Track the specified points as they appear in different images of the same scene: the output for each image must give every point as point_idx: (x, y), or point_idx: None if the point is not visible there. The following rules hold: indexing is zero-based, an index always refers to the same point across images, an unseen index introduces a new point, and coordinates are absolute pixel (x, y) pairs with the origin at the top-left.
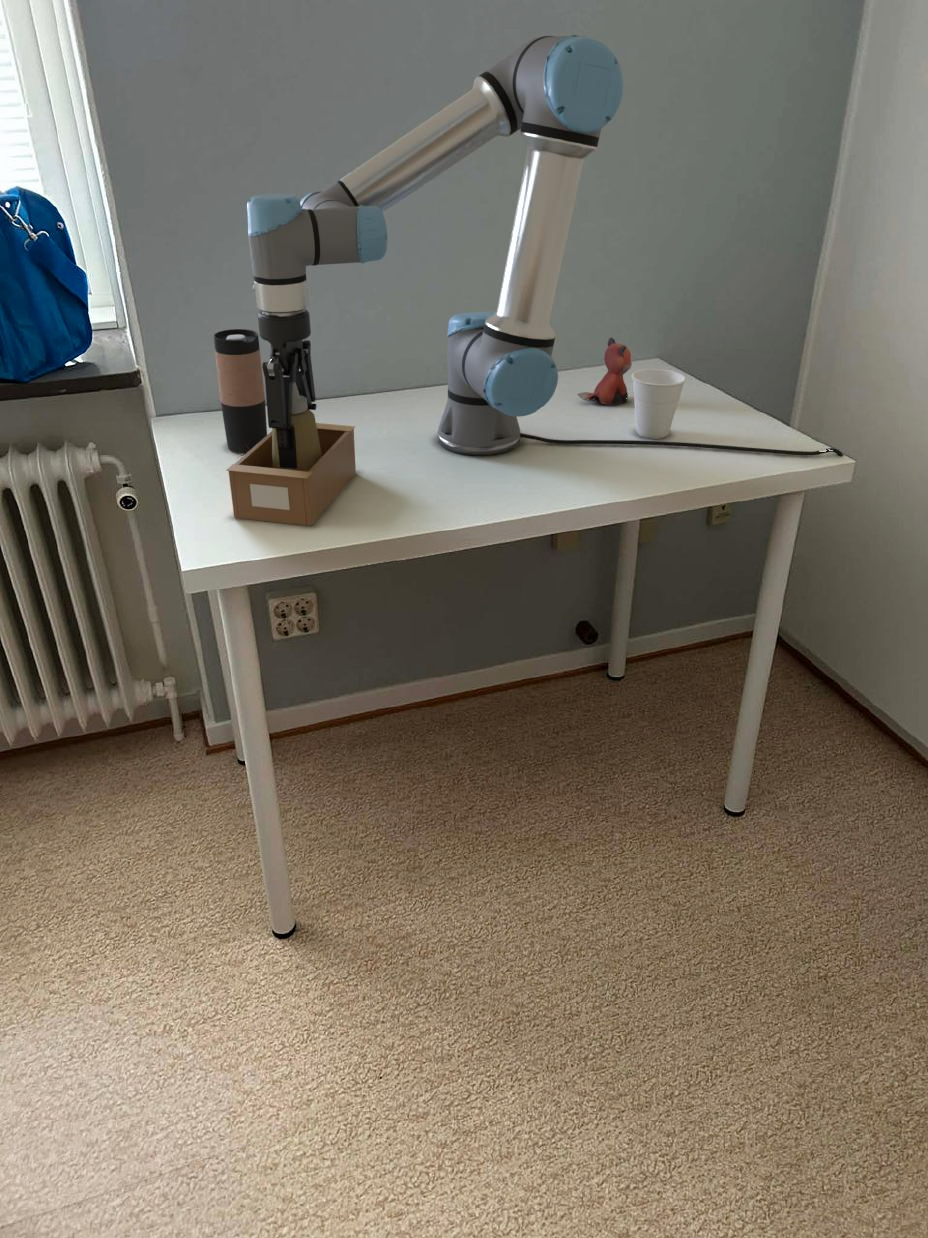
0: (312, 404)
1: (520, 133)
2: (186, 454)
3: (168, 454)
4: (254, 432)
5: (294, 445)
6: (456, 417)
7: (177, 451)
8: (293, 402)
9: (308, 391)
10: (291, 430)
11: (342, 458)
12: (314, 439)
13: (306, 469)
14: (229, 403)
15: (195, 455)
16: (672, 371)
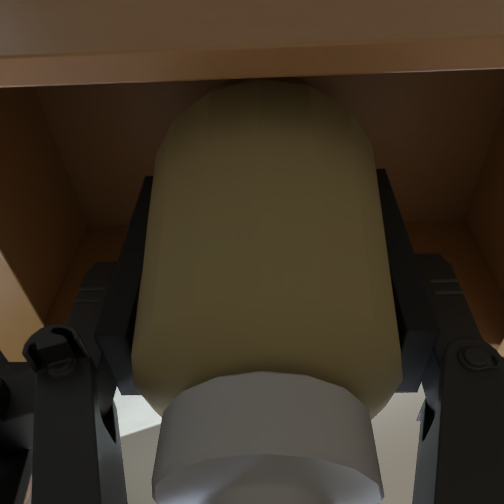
0: (38, 364)
1: None
2: (137, 407)
3: (154, 425)
4: (21, 370)
5: (405, 245)
6: None
7: (132, 420)
8: (346, 488)
9: (43, 479)
10: (435, 322)
11: (108, 15)
12: (290, 183)
13: (357, 127)
14: (31, 484)
15: (133, 397)
16: None
